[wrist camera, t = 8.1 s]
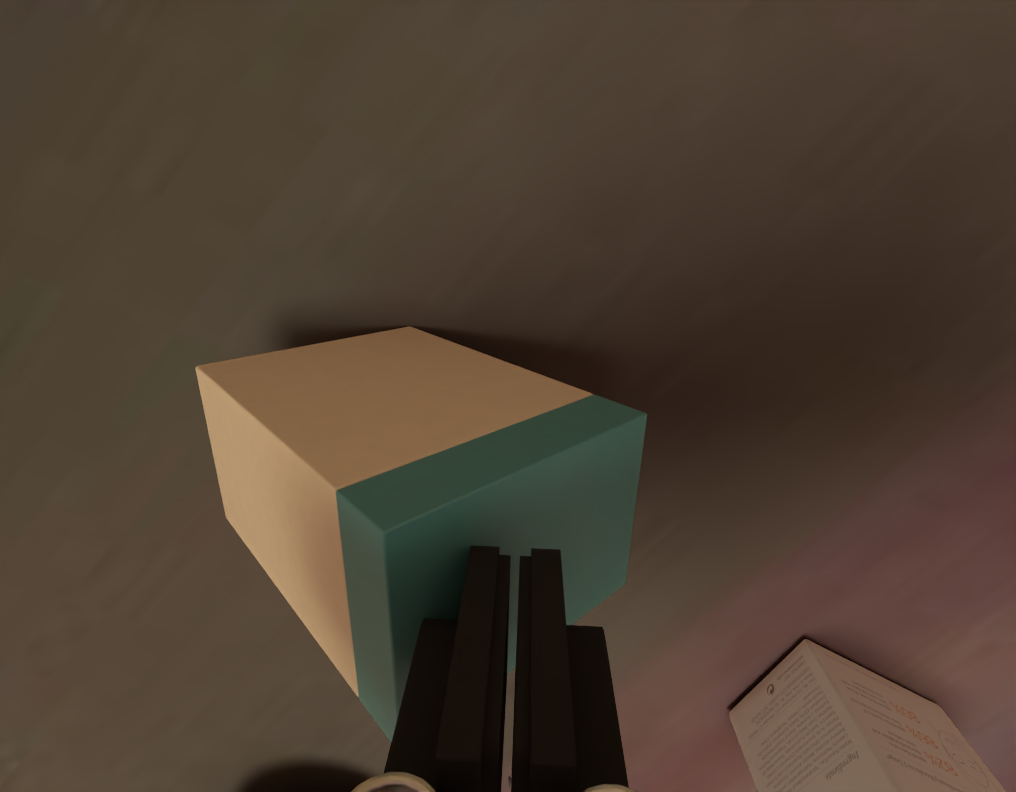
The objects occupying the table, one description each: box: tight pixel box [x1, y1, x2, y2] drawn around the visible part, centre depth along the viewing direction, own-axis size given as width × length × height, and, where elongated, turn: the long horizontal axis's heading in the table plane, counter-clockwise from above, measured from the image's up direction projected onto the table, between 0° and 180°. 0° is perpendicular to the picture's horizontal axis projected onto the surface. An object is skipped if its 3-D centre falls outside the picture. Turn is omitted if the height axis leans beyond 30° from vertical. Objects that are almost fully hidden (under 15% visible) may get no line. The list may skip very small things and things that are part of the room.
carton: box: [196, 326, 647, 742], centre depth 15 cm, size 10×5×7 cm
